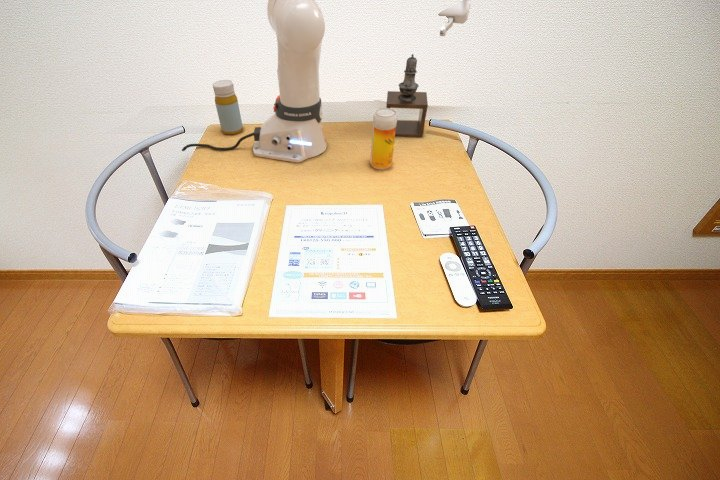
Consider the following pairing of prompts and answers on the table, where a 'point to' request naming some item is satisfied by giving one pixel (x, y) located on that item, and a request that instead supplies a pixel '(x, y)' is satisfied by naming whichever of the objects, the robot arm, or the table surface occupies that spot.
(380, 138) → the beer can
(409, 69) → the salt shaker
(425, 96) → the shelf
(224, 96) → the bottle
